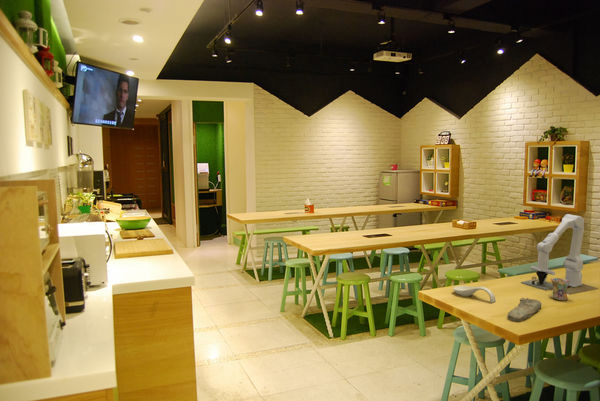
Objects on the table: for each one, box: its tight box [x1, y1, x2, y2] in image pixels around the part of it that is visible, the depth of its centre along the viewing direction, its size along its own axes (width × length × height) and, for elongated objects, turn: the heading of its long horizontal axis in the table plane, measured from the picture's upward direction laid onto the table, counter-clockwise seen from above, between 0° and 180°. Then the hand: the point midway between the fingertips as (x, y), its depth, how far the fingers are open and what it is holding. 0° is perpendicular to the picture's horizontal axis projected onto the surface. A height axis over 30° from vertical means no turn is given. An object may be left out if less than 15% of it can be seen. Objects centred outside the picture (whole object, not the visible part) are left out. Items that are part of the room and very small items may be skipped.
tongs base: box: [529, 278, 539, 284], centre depth 281 cm, size 12×3×3 cm, turn 119°
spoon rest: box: [452, 285, 496, 304], centre depth 254 cm, size 24×12×7 cm, turn 41°
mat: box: [520, 279, 553, 291], centre depth 279 cm, size 15×16×1 cm
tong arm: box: [534, 275, 548, 285], centre depth 280 cm, size 13×4×3 cm, turn 122°
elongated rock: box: [506, 297, 542, 323], centre depth 232 cm, size 35×5×10 cm
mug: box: [550, 277, 570, 301], centre depth 255 cm, size 12×9×11 cm
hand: (541, 283), depth 276 cm, fingers closed
